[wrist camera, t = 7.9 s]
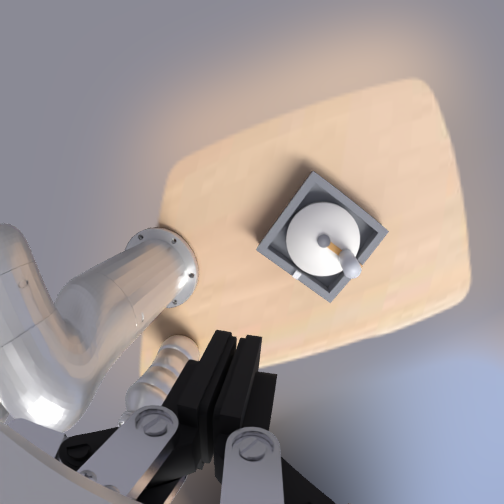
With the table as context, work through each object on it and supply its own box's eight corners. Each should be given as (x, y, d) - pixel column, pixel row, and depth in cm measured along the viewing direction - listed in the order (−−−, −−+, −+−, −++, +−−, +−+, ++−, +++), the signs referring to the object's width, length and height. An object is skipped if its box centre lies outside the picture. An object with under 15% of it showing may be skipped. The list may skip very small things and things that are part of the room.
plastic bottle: (162, 329, 46) (98, 407, 27) (198, 329, 44) (143, 417, 25) (172, 360, 47) (119, 440, 28) (207, 361, 46) (163, 451, 27)
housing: (328, 293, 39) (330, 304, 36) (259, 244, 39) (255, 250, 36) (382, 226, 36) (389, 232, 32) (311, 171, 35) (313, 171, 32)
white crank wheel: (272, 245, 37) (267, 260, 31) (314, 186, 35) (317, 190, 28) (328, 284, 38) (334, 306, 31) (370, 229, 35) (385, 242, 28)
